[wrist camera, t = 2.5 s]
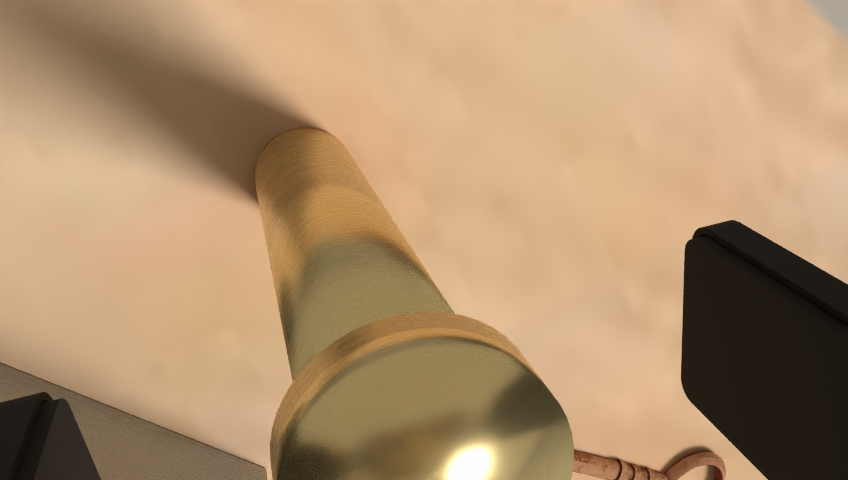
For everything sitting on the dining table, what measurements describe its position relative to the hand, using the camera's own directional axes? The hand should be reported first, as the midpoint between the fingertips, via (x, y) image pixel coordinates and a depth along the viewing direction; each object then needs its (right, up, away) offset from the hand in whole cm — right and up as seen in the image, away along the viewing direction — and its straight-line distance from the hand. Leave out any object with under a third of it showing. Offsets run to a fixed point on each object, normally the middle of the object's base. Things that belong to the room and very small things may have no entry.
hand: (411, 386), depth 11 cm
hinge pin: (-3, +4, +11) cm, 12 cm away
